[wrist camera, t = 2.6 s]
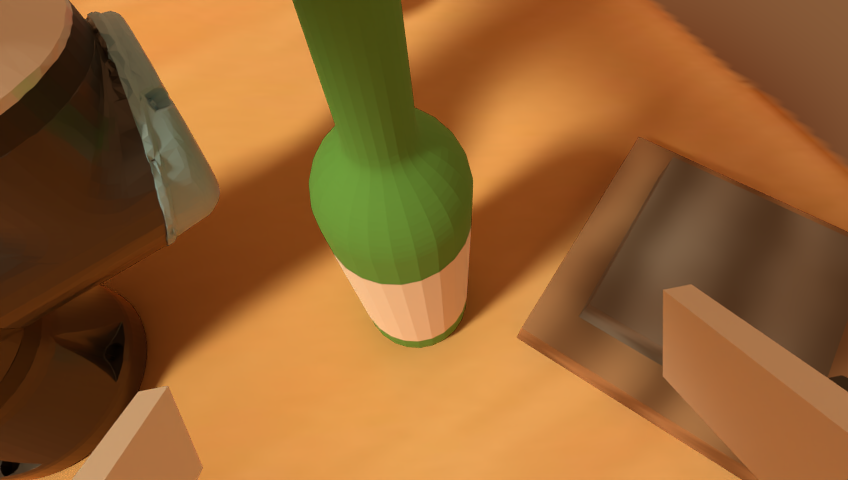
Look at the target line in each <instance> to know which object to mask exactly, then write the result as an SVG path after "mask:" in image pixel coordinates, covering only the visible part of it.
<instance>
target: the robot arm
mask: <svg viewBox="0 0 848 480" xmlns="http://www.w3.org/2000/svg"><path fill="white" fill-rule="evenodd" d="M87 16H88V17H87V18H86V19H84V18H83V17H82V15H81V14H80V13H79V12H78V11H77V9H76V8H75V7H74V6H73V5H72V3H71V2H70V1H69V0H0V480H31V479H37V478H41V477H45V476H49V475H51V474H54V473H57V472H59V471H61V470H64V469H66V468H68V467H70V466H72V465H73V464H75V463H77V462H78V461H80V460H81V459H83V458H84V457H86V456H87V455H88V454H90V453H91V452H92V451H93V452H92V454H91V455H90V456H89V458H88V459H87V460H86V461H85V463H84V464H83V465H82V467H81V468H80V469H79V471H78V472H77V473H76V475H75V476H74V477H73V479H72V480H197V479H198V477H199V475H200V473H201V471H202V468H203V467H202V464H201V462H200V460H199V457H198V455H197V453H196V450H195V448H194V445H193V443H192V441H191V438H190V436H189V434H188V431H187V429H186V427H185V424H184V422H183V420H182V417H181V415H180V413H179V410H178V408H177V406H176V403H175V401H174V399H173V396H172V394H171V391H170V389H169V387H168V386H164V387H159V388H154V389H149V390H144V391H139V392H138V390H139V387H140V384H141V382H142V378H143V374H144V370H145V364H146V354H147V345H146V337H145V332H144V328H143V325H142V322H141V320H140V318H139V316H138V314H137V312H136V311H135V309H134V308H133V307H132V306H131V304H130V303H129V302H128V301H127V300H125V299H124V298H123V297H122V296H120V295H119V294H117V293H115V292H113V291H111V290H109V289H107V288H105V287H103V286H101V285H99V284H101V283H102V282H104V281H106V280H108V279H109V278H111V277H113V276H114V275H116V274H118V273H120V272H121V271H123V270H125V269H126V268H128V267H130V266H132V265H133V264H135V263H137V262H139V261H140V260H142V259H144V258H145V257H147V256H149V255H151V254H152V253H154V252H156V251H157V250H159V249H161V248H163V247H164V246H169V245H170V244H172V243H174V242H175V240H176V238H177V236H179V235H180V234H182V233H183V232H185V231H186V230H188V229H189V228H191V227H192V226H194V225H195V224H196V223H198V222H199V221H201V220H202V219H204V218H205V217H207V216H208V215H209V214H210V213H211V212H212V211H213V210H214V208H215V206H216V204H217V203H218V200H219V194H220V189H219V184H218V182H217V179H216V177H215V175H214V173H213V171H212V169H211V167H210V166H209V164H208V162H207V160H206V158H205V157H204V155H203V153H202V151H201V149H200V148H199V146H198V144H197V142H196V141H195V139H194V137H193V135H192V134H191V132H190V130H189V128H188V127H187V125H186V123H185V121H184V120H183V118H182V116H181V115H180V113H179V111H178V109H177V108H176V106H175V104H174V103H173V101H172V100H171V98H170V97H169V95H168V92H167V91H166V89H165V87H164V86H163V84H162V82H161V80H160V79H159V77H158V75H157V73H156V71H155V69H154V68H153V66H152V64H151V62H150V61H149V59H148V57H147V56H146V54H145V52H144V50H143V49H142V47H141V45H140V44H139V42H138V40H137V39H136V37H135V35H134V34H133V32H132V31H131V29H130V27H129V26H128V24H127V23H126V21H125V19H124V18H123V17H122V16H121V15H120V14H118V13H116V12H112V11H109V12H104V13H99V12H94V13H93V12H91V13H89V14H88V15H87ZM663 377H664V378H665V379H666V380H667V381H668V383H669V384H670V385H671V386H672V387H673V388H674V389H675V390H676V391H677V392H678V393H679V394H680V395H681V397H682V398H683V399H684V400H685V401H686V402H687V403H688V404H689V405H690V406H691V407H692V408H693V410H694V411H695V412H696V413H697V414H698V415H699V416H700V417H701V418H702V419H703V420H704V421H705V423H706V424H707V425H708V426H709V427H710V428H711V429H712V430H713V431H714V432H715V433H716V434H717V436H718V437H719V438H720V439H721V440H722V441H723V442H724V443H725V444H726V445H727V446H728V447H729V449H730V450H731V451H732V452H733V453H734V454H735V455H736V456H737V457H738V458H739V459H740V460H741V462H742V463H743V464H744V465H745V466H746V467H747V468H748V469H749V470H750V471H751V472H752V473H753V475H754V476H755V477H756V478H757V479H758V480H848V378H847V377H845V376H842V375H840V376H835V377H830V378H827V377H826V376H824V375H823V374H821V373H820V372H818V371H817V370H815V369H814V368H812V367H811V366H809V365H808V364H807V363H805V362H804V361H802V360H801V359H799V358H798V357H796V356H795V355H793V354H792V353H791V352H789V351H788V350H786V349H785V348H783V347H782V346H780V345H779V344H777V343H776V342H775V341H773V340H772V339H770V338H769V337H767V336H766V335H764V334H763V333H761V332H760V331H759V330H757V329H756V328H754V327H753V326H751V325H750V324H748V323H747V322H745V321H744V320H743V319H741V318H740V317H738V316H737V315H735V314H734V313H732V312H731V311H729V310H728V309H727V308H725V307H724V306H722V305H721V304H719V303H718V302H716V301H715V300H713V299H712V298H710V297H709V296H708V295H706V294H705V293H703V292H702V291H700V290H699V289H697V288H696V287H694V286H693V285H692V284H690V285H685V286H680V287H675V288H669V289H664V290H663ZM137 392H138V393H137Z"/></svg>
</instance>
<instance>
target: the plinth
mask: <svg viewBox="0 0 848 480" xmlns="http://www.w3.org/2000/svg"><path fill="white" fill-rule="evenodd" d="M690 284H692V285H693V286H694V287H696V288H697V289H699V290H700V291H702V292H703V293H705V294H706V295H708V296H709V297H710V298H712V299H713V300H715V301H716V302H718V303H719V304H721V305H722V306H724V307H725V308H727V309H728V310H729V311H731V312H732V313H734V314H735V315H737V316H738V317H740V318H741V319H743V320H744V321H745V322H747V323H748V324H750V325H751V326H753V327H754V328H756V329H757V330H759V331H760V332H761V333H763V334H764V335H766V336H767V337H769V338H770V339H772V340H773V341H775V342H776V343H777V344H779V345H780V346H782V347H783V348H785V349H786V350H788V351H789V352H791V353H792V354H793V355H795V356H796V357H798V358H799V359H801V360H802V361H804V362H805V363H807V364H808V365H809V366H811V367H812V368H814V369H815V370H817V371H818V372H820V373H821V374H823V375H824V376H826V377H827V378H830V377H835V376H840V375H842V376H845V377H847V378H848V232H847V231H844V230H842V229H840V228H838V227H836V226H833V225H831V224H829V223H827V222H825V221H823V220H820V219H818V218H816V217H814V216H812V215H809V214H807V213H805V212H803V211H801V210H799V209H796V208H794V207H792V206H790V205H788V204H785V203H783V202H781V201H779V200H777V199H774V198H772V197H770V196H768V195H766V194H764V193H761V192H759V191H757V190H755V189H753V188H750V187H748V186H746V185H744V184H742V183H739V182H737V181H735V180H733V179H731V178H729V177H726V176H724V175H722V174H720V173H718V172H715V171H713V170H711V169H709V168H707V167H704V166H702V165H700V164H698V163H696V162H694V161H691V160H689V159H687V158H685V157H683V156H680V155H678V154H676V153H674V152H672V151H670V150H667V149H665V148H663V147H661V146H659V145H656V144H654V143H652V142H650V141H648V140H645V139H643V138H641V137H638V139H637V141H636V142H635V144H634V145H633V147H632V149H631V150H630V152H629V154H628V155H627V157H626V159H625V160H624V162H623V163H622V165H621V167H620V168H619V170H618V172H617V173H616V175H615V177H614V178H613V180H612V181H611V183H610V185H609V186H608V188H607V190H606V191H605V193H604V194H603V196H602V198H601V199H600V201H599V203H598V204H597V206H596V208H595V209H594V211H593V212H592V214H591V216H590V217H589V219H588V221H587V222H586V224H585V225H584V227H583V229H582V230H581V232H580V234H579V235H578V237H577V239H576V240H575V242H574V243H573V245H572V247H571V248H570V250H569V252H568V253H567V255H566V256H565V258H564V260H563V261H562V263H561V265H560V266H559V268H558V270H557V271H556V273H555V274H554V276H553V278H552V279H551V281H550V283H549V284H548V286H547V287H546V289H545V291H544V292H543V294H542V296H541V297H540V299H539V301H538V302H537V304H536V305H535V307H534V309H533V310H532V312H531V314H530V315H529V317H528V319H527V320H526V322H525V323H524V325H523V327H522V328H521V330H520V332H519V334H518V336H517V338H518V339H520V340H521V341H523V342H525V343H526V344H528V345H529V346H531V347H533V348H534V349H536V350H537V351H539V352H540V353H542V354H544V355H545V356H547V357H548V358H550V359H552V360H553V361H555V362H556V363H558V364H560V365H561V366H563V367H564V368H566V369H567V370H569V371H571V372H572V373H574V374H575V375H577V376H579V377H580V378H582V379H583V380H585V381H587V382H588V383H590V384H591V385H593V386H594V387H596V388H598V389H599V390H601V391H602V392H604V393H606V394H607V395H609V396H610V397H612V398H613V399H615V400H617V401H618V402H620V403H621V404H623V405H625V406H626V407H628V408H629V409H631V410H633V411H634V412H636V413H637V414H639V415H640V416H642V417H644V418H645V419H647V420H648V421H650V422H652V423H653V424H655V425H656V426H658V427H660V428H661V429H663V430H664V431H666V432H667V433H669V434H671V435H672V436H674V437H675V438H677V439H679V440H680V441H682V442H683V443H685V444H687V445H688V446H690V447H691V448H693V449H694V450H696V451H698V452H699V453H701V454H702V455H704V456H706V457H707V458H709V459H710V460H712V461H714V462H715V463H717V464H718V465H720V466H721V467H723V468H725V469H726V470H728V471H729V472H731V473H733V474H734V475H736V476H737V477H739V478H740V479H742V480H758V479H757V478H756V477H755V476H754V475H753V473H752V472H751V471H750V470H749V469H748V468H747V467H746V466H745V465H744V464H743V463H742V462H741V460H740V459H739V458H738V457H737V456H736V455H735V454H734V453H733V452H732V451H731V450H730V449H729V447H728V446H727V445H726V444H725V443H724V442H723V441H722V440H721V439H720V438H719V437H718V436H717V434H716V433H715V432H714V431H713V430H712V429H711V428H710V427H709V426H708V425H707V424H706V423H705V421H704V420H703V419H702V418H701V417H700V416H699V415H698V414H697V413H696V412H695V411H694V410H693V408H692V407H691V406H690V405H689V404H688V403H687V402H686V401H685V400H684V399H683V398H682V397H681V395H680V394H679V393H678V392H677V391H676V390H675V389H674V388H673V387H672V386H671V385H670V384H669V383H668V381H667V380H666V379H665V378H664V377H663V290H664V289H669V288H675V287H680V286H685V285H690Z"/></svg>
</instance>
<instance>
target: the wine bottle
mask: <svg viewBox="0 0 848 480" xmlns="http://www.w3.org/2000/svg"><path fill="white" fill-rule="evenodd" d="M293 3H294V6H295V9H296V12H297V15H298V18H299V21H300V24H301V27H302V29H303V32H304V35H305V38H306V41H307V44H308V47H309V50H310V53H311V56H312V59H313V62H314V64H315V67H316V70H317V73H318V76H319V79H320V82H321V85H322V88H323V91H324V94H325V97H326V99H327V102H328V105H329V108H330V111H331V114H332V117H333V120H334V123H335V126H334V127H333V128H332V129H331V131H330V132H329V133H328V134H327V135H326V136H325V138H324V139H323V140H322V142H321V144H320V146H319V148H318V150H317V152H316V154H315V156H314V159H313V163H312V168H311V173H310V178H309V191H310V201H311V208H312V211H313V214H314V216H315V219H316V221H317V223H318V225H319V228H320V230H321V232H322V234H323V236H324V237H325V239H326V241H327V242H328V244H329V246H330V248H331V249H332V251H333V254H334V256H335V257H336V259H337V261H338V262H339V264H340V266H341V268H342V269H343V271H344V273H345V275H346V276H347V278H348V280H349V281H350V283H351V285H352V287H353V288H354V290H355V292H356V294H357V295H358V297H359V299H360V300H361V302H362V304H363V306H364V307H365V309H366V311H367V313H368V314H369V316H370V318H371V319H372V320H373V322H374V324H375V326H376V327H377V328H378V329H379V330H380V331H381V333H382V334H383V335H384V336H386V337H387V338H389V339H390V340H391V341H393V342H394V343H397V344H400V345H403V346H406V347H416V348H422V347H426V346H431V345H434V344H436V343H438V342H440V341H442V340H444V339H445V338H447V337H448V336H449V335H450V334H451V333H452V332H453V331H454V330H455V329H456V327H457V326H458V324H459V323H460V321H461V320H462V317H463V314H464V310H465V307H466V299H467V285H468V270H469V254H470V239H471V220H472V197H473V178H472V174H471V170H470V167H469V163H468V160H467V156H466V154H465V152H464V150H463V148H462V147H461V145H460V144H459V142H458V141H457V139H456V138H455V136H454V135H453V133H452V132H451V131H450V130H449V129H448V128H446V127H445V126H444V125H443V124H442V123H441V122H440V121H438V120H437V119H436V118H435V117H433V116H431V115H429V114H427V113H425V112H423V111H421V110H419V109H417V108H414V100H413V92H412V84H411V76H410V68H409V60H408V52H407V45H406V37H405V29H404V21H403V13H402V5H401V0H293Z"/></svg>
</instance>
